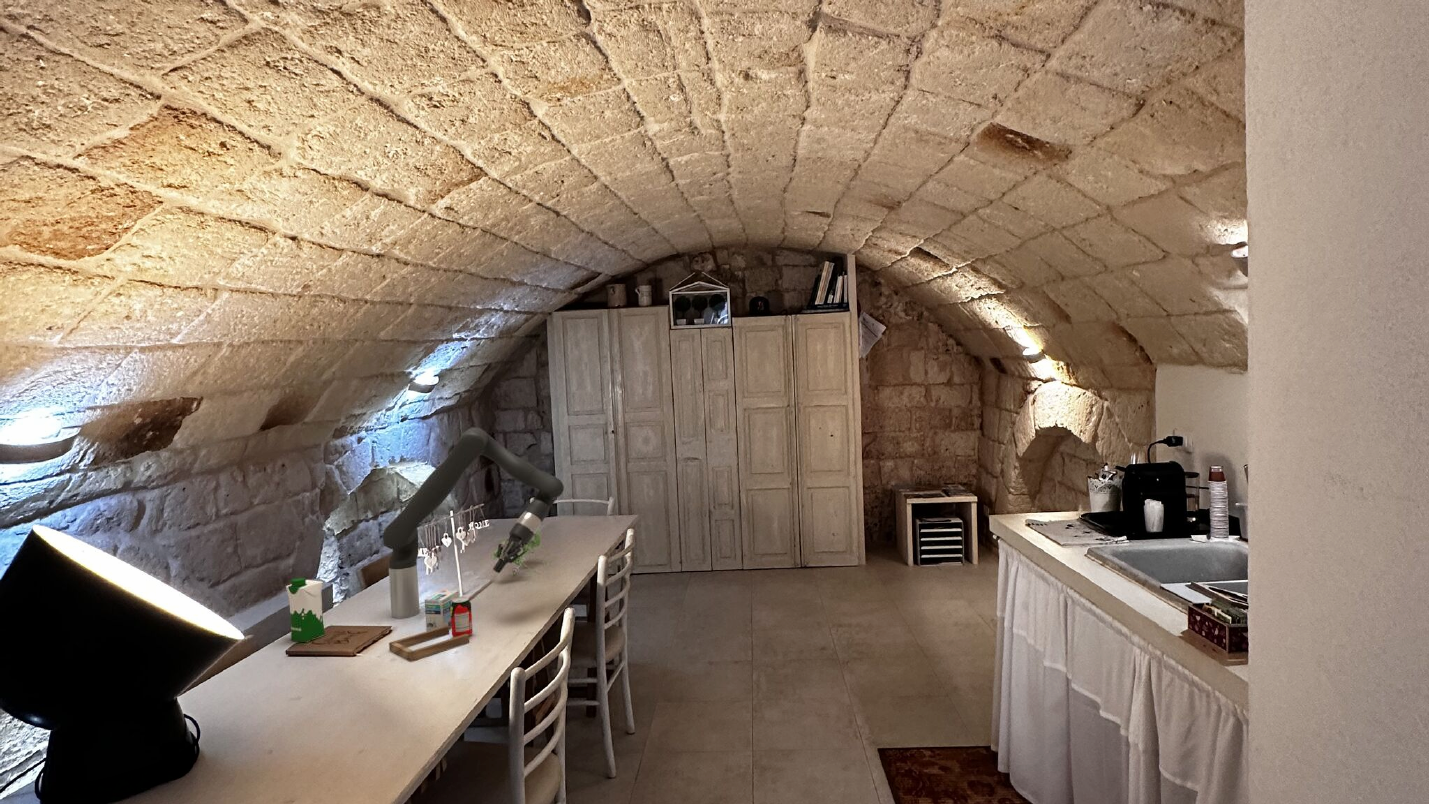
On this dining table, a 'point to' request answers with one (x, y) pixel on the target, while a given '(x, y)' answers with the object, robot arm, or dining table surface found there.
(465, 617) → the beverage can
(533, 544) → the plant cuttings
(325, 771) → the dining table surface
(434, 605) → the light bulb box
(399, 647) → the frame
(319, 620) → the milk carton
